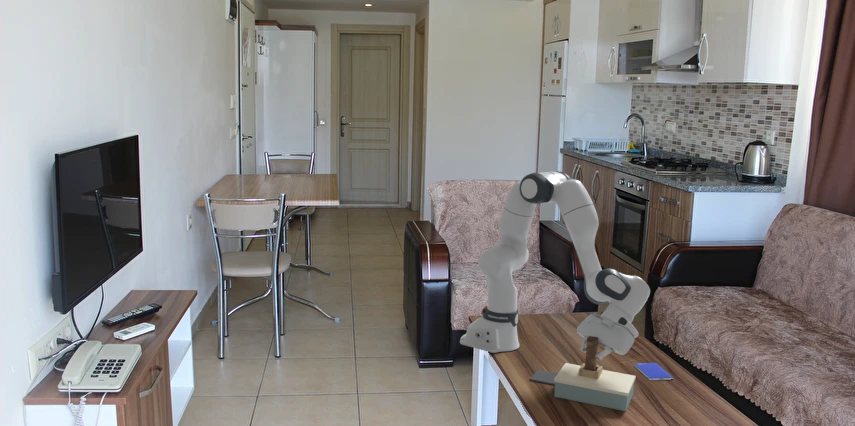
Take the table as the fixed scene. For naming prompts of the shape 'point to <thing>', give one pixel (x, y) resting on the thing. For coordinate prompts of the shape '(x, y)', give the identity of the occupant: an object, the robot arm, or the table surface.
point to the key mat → (544, 377)
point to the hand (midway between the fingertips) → (590, 354)
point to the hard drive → (653, 371)
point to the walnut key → (591, 353)
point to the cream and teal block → (594, 386)
